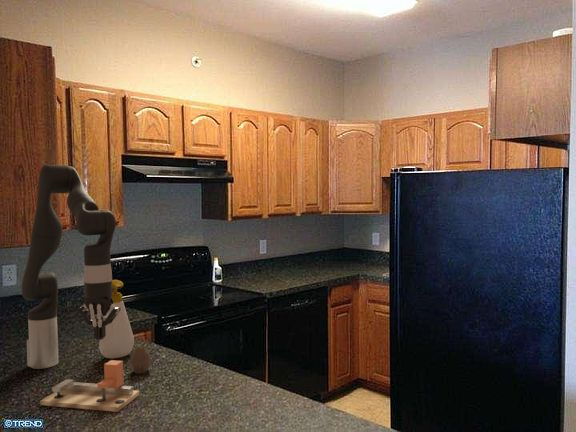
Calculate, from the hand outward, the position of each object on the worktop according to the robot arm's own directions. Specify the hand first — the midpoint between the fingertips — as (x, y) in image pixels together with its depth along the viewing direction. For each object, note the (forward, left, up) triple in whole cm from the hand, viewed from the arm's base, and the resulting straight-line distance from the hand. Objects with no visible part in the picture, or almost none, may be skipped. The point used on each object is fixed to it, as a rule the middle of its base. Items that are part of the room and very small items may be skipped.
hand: (100, 339), depth 142 cm
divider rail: (-5, +2, -18) cm, 19 cm away
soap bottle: (-18, +38, -19) cm, 46 cm away
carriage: (+1, +3, -18) cm, 18 cm away
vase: (-2, +26, -19) cm, 32 cm away
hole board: (-5, +2, -19) cm, 20 cm away
